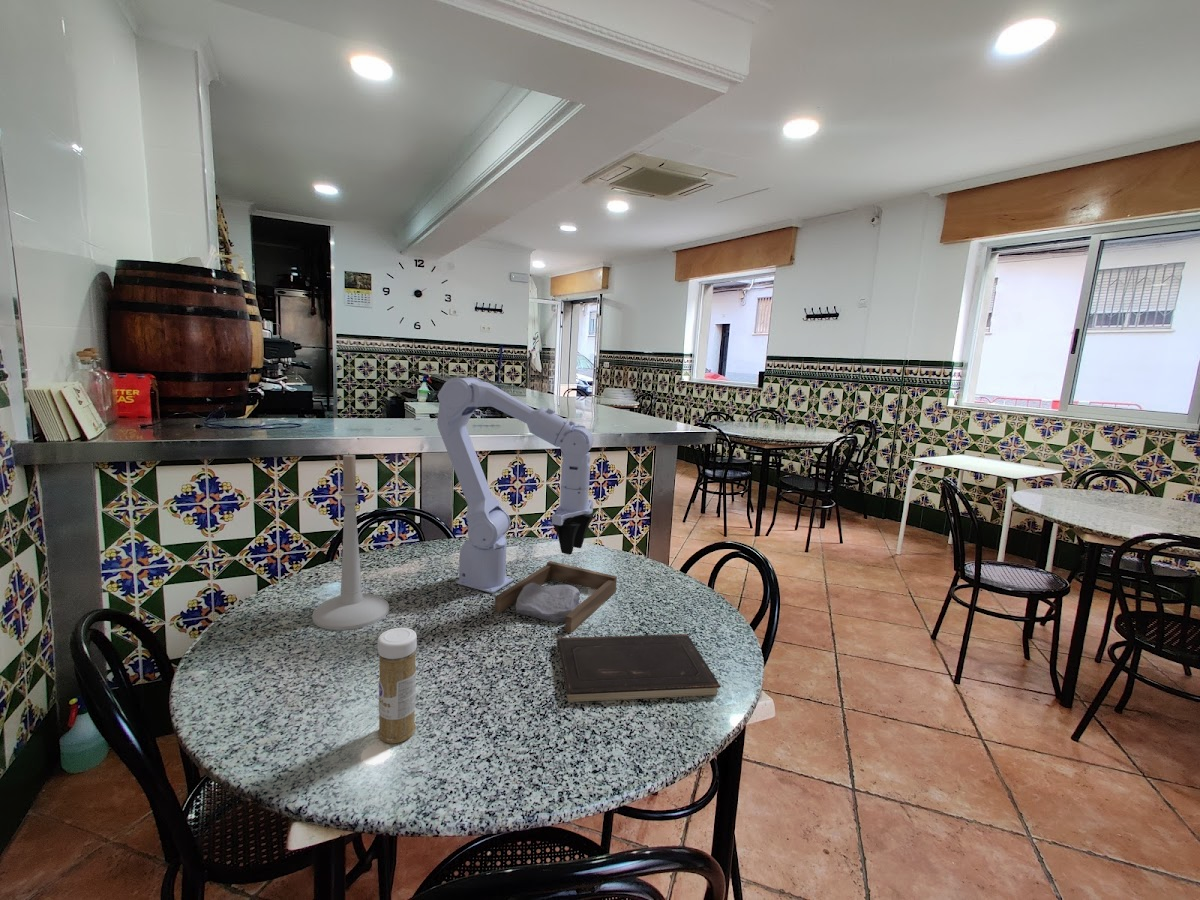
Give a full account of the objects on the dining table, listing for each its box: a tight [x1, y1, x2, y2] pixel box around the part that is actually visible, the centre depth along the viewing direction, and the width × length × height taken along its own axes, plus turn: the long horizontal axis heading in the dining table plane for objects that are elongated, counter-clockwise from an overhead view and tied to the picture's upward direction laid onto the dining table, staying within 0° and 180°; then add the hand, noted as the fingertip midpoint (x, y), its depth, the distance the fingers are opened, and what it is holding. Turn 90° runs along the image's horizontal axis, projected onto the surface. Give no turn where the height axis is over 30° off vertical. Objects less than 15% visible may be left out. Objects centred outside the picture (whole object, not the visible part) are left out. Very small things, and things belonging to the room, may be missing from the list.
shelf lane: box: [494, 560, 618, 634], centre depth 109 cm, size 16×21×4 cm
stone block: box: [515, 583, 581, 623], centre depth 105 cm, size 12×5×10 cm
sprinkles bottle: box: [377, 627, 418, 744], centre depth 68 cm, size 5×5×14 cm
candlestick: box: [311, 452, 390, 631], centre depth 97 cm, size 13×13×30 cm
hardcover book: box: [556, 633, 721, 703], centre depth 87 cm, size 16×23×2 cm
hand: (571, 550), depth 112 cm, fingers open, 4 cm apart
